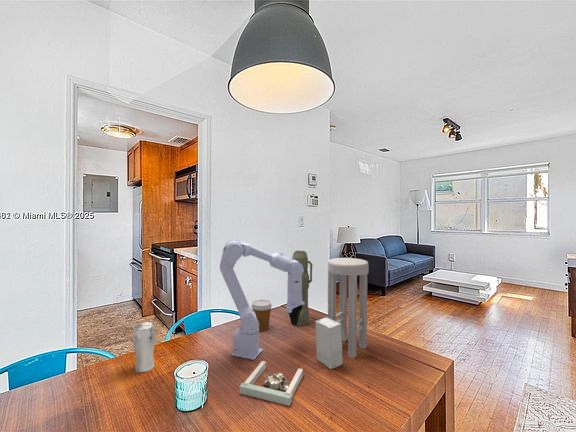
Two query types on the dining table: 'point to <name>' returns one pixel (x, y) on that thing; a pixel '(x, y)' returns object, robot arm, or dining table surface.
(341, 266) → the stool
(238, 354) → the robot arm
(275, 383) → the ornament
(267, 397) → the u-shaped frame
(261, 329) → the disposable coffee cup
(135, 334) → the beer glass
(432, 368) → the dining table surface
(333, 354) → the skincare box
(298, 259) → the thermos
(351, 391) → the dining table surface
